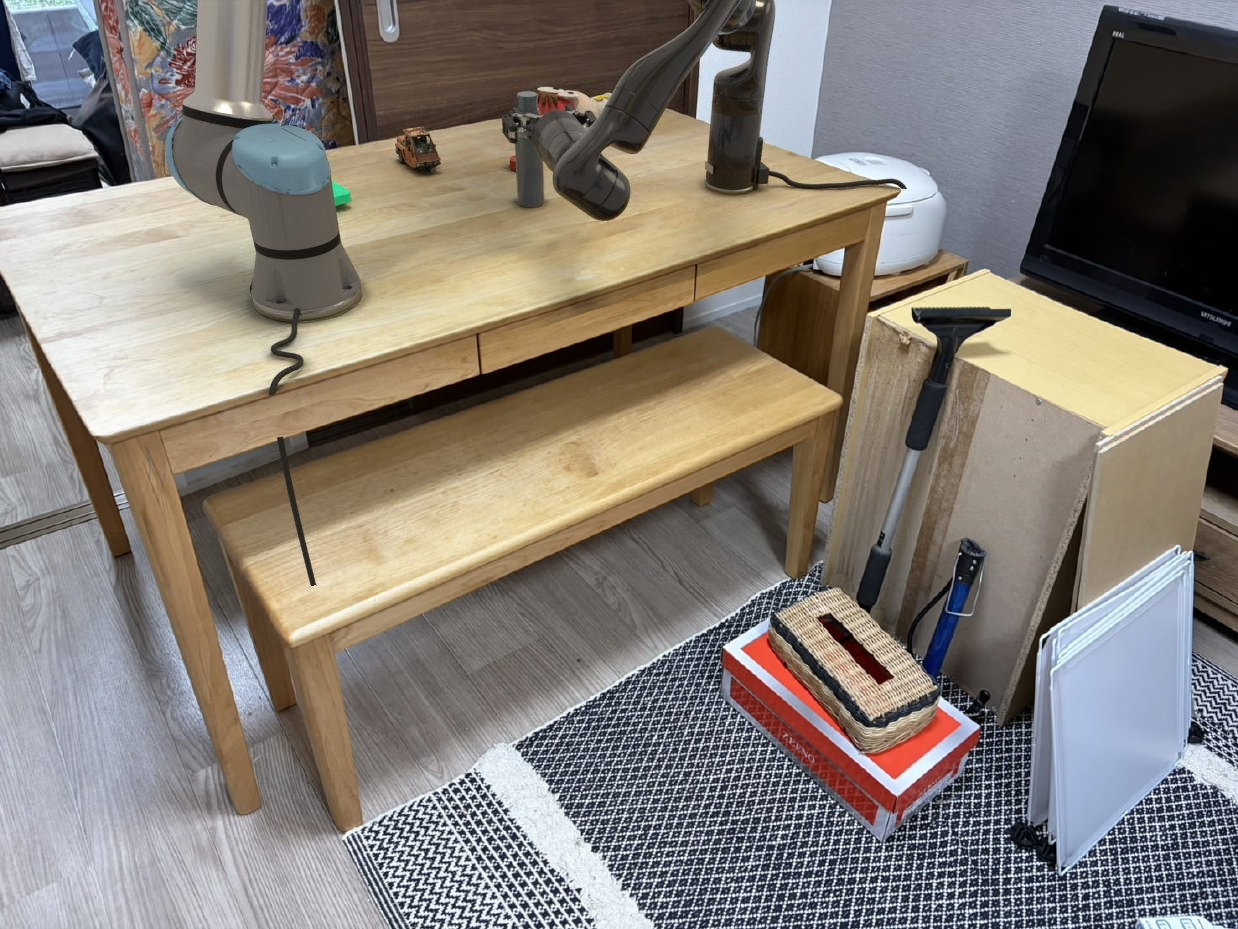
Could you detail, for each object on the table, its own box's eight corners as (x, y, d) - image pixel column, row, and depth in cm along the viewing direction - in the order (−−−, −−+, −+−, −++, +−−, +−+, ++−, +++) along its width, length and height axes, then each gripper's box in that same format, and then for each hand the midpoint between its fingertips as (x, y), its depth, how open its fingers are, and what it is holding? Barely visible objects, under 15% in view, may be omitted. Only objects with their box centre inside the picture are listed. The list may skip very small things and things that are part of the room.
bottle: (548, 205, 166) (545, 96, 155) (522, 208, 164) (518, 99, 153) (538, 196, 169) (535, 88, 158) (513, 199, 168) (508, 91, 156)
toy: (674, 93, 197) (551, 94, 182) (670, 142, 202) (549, 147, 187) (627, 81, 210) (509, 80, 195) (624, 127, 215) (508, 131, 200)
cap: (537, 165, 183) (536, 155, 181) (529, 173, 179) (529, 163, 178) (514, 162, 183) (513, 153, 182) (506, 170, 180) (506, 161, 178)
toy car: (418, 153, 186) (414, 118, 181) (449, 170, 178) (446, 134, 174) (389, 159, 182) (385, 123, 178) (419, 177, 175) (416, 140, 171)
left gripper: (462, -164, 157) (471, -24, 169) (514, -153, 139) (520, 2, 152) (504, -164, 159) (509, -26, 172) (560, -153, 142) (562, -1, 154)
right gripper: (611, 115, 134) (584, 85, 146) (514, 121, 131) (495, 89, 143) (610, 167, 138) (584, 133, 151) (516, 173, 135) (497, 139, 147)
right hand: (540, 112), depth 147 cm, fingers open, 8 cm apart
